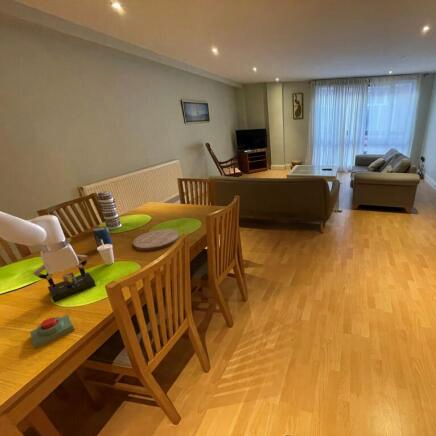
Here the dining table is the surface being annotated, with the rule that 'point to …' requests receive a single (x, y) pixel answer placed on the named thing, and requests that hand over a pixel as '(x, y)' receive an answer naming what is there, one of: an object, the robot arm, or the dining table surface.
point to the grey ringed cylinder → (109, 210)
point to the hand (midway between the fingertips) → (68, 280)
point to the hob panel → (71, 287)
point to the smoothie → (106, 253)
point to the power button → (48, 323)
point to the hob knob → (69, 279)
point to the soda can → (102, 236)
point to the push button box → (51, 332)
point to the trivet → (156, 239)
